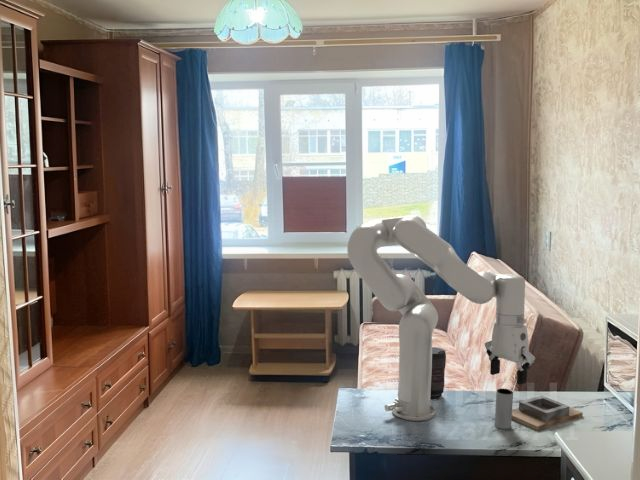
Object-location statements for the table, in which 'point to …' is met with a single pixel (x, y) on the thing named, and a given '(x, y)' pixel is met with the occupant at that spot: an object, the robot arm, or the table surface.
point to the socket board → (543, 413)
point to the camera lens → (437, 373)
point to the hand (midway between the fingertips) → (508, 378)
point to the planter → (503, 408)
